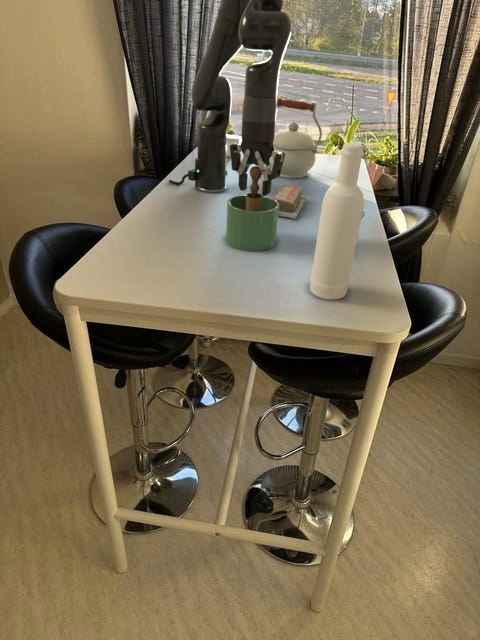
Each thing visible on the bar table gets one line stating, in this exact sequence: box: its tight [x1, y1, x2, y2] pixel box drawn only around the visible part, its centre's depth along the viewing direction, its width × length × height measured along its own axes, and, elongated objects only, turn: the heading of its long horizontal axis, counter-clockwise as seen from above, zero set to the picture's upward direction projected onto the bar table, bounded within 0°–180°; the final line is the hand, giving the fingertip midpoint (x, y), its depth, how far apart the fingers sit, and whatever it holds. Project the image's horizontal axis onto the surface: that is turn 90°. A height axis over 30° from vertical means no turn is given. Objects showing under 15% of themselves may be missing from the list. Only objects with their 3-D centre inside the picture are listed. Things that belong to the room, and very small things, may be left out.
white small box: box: [226, 134, 242, 158], centre depth 189 cm, size 6×6×7 cm
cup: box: [225, 194, 280, 252], centre depth 115 cm, size 13×13×10 cm
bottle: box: [309, 142, 365, 301], centre depth 90 cm, size 8×8×30 cm
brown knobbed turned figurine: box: [246, 165, 263, 211], centre depth 113 cm, size 7×6×18 cm
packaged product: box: [271, 184, 307, 220], centre depth 139 cm, size 18×5×10 cm
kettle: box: [270, 98, 323, 179], centre depth 167 cm, size 25×18×25 cm
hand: (254, 192), depth 111 cm, fingers open, 5 cm apart
